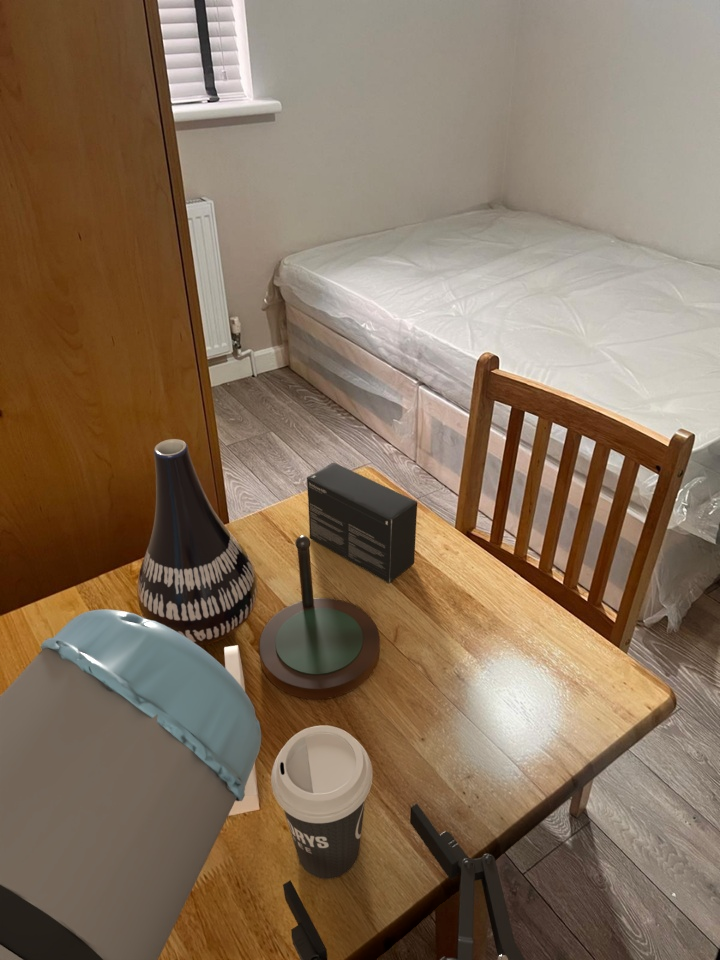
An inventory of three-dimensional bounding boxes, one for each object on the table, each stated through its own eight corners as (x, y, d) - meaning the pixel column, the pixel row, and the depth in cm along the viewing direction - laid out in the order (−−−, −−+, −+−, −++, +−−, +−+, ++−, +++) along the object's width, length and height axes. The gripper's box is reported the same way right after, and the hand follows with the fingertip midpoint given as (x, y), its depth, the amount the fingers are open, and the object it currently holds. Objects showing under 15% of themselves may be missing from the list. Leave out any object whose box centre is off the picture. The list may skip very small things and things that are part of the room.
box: (417, 562, 112) (419, 500, 106) (389, 585, 108) (389, 522, 101) (336, 519, 122) (333, 459, 115) (308, 538, 118) (303, 478, 111)
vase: (285, 618, 103) (266, 440, 86) (197, 688, 93) (156, 503, 77) (212, 570, 112) (181, 401, 95) (124, 630, 102) (73, 452, 85)
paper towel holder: (395, 682, 93) (396, 602, 85) (271, 712, 90) (260, 632, 82) (361, 598, 106) (359, 521, 98) (251, 621, 102) (240, 544, 94)
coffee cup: (296, 797, 81) (285, 711, 72) (381, 813, 79) (381, 726, 70) (270, 884, 73) (255, 799, 65) (364, 904, 71) (360, 819, 63)
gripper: (357, 1235, 50) (233, 945, 65) (616, 1010, 60) (458, 805, 75) (355, 1208, 45) (223, 904, 60) (634, 970, 56) (462, 762, 71)
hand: (353, 849), depth 68 cm, fingers open, 13 cm apart
